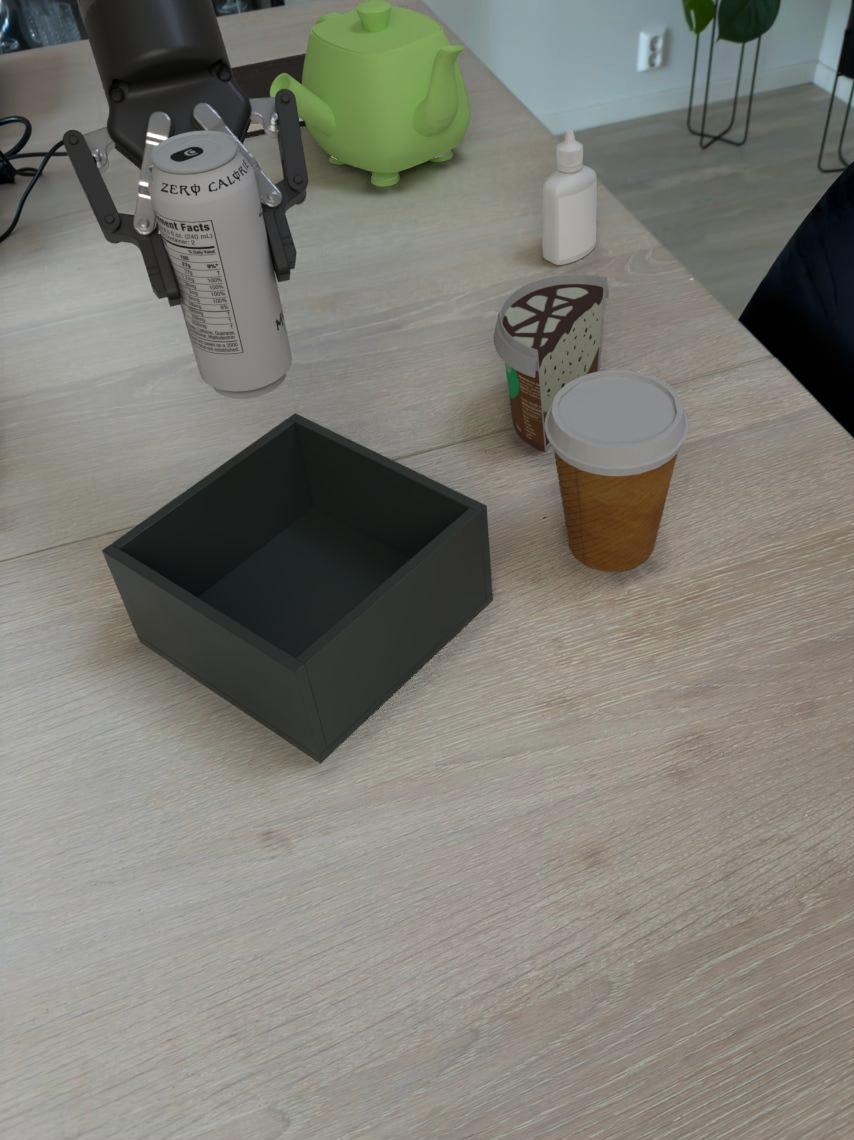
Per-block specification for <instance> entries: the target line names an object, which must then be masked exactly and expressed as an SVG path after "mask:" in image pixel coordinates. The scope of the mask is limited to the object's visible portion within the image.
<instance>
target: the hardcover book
mask: <svg viewBox="0 0 854 1140" xmlns="http://www.w3.org/2000/svg"><path fill="white" fill-rule="evenodd" d="M305 56H306V52H305V53H300V54H296V55H290V56H284V57H280V58H274V59H270V60H265V61H260V62H254V63H248V64H244V65H239V66H233V67H231V69H232V72H233V76H234V78H235V81H236V83H237V84H238V86H239V87H240V88H241V90H242V91H243V92H244V93H245V94H246V95H247V96H248V98H249V99H251V98H268V97H270V88H271V85H272V83H273V81H274V80H275V79H276V77H277V76H279V75H280V74H282V73H287V74H288V75H290V76H291V77H292V78H294V79H295V80H296V81H298V82H299V83H300V84H301V85H302V75H303V68H304V61H305ZM251 124H259V122H257V121H254V120H251V123H250V125H251ZM299 124H300V127H304V126H306V124H305V121H304V120H303V121H299ZM260 135H266V133H265V131H264V129H259V130H254V131H250V132H247V134H246V137H245V139H246V138H251V137H255V136H260Z"/></svg>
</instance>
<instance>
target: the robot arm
mask: <svg viewBox="0 0 854 1140" xmlns="http://www.w3.org/2000/svg"><path fill="white" fill-rule="evenodd" d="M76 3H77V5H78V14H79V17H80V20H81V22H82V24H83V26H84V29H85V32H86V35H87V39H88V42H89V45H90V49H91V52H92V55H93V58H94V62H95V65H96V69H97V72H98V75H99V78H100V82H101V85H102V89H103V92H104V95H105V98H106V99H105V100H106V101H107V105H108V116H107V120H106V126H104V127H102V128H99V129H95V130H93V131H90V132H87V133H84V134H83V133H82V132H80V131H79V130H76V129H69V130H66V132H64V134H63V136H62V143H63V146H64V149H65V151H66V154H67V157H68V160H69V162H70V164H71V166H72V168H73V171H74V173H75V175H76V177H77V179H78V182H79V183H80V186H81V188H82V190H83V193H84V194H85V198H86V199H87V201H88V204H89V205H90V208H91V210H92V212H93V214H94V217H95V219H96V221H97V223H98V226H99V228H100V230H101V233H102V234H103V236H104V238H105V240H106V241H107V242H109V243H110V244H114V245H115V244H120V243H129V244H132V245H134V246H135V247H137V248H138V250H139V251H140V253H141V256H142V259H143V263H144V266H145V270H146V273H147V276H148V279H149V283H150V286H151V289H152V292H153V294H155V296H156V297H157V299H158V300H162V299H166V298H167V301H168V305H169V307H170V308H171V307H176V306H181V299H180V295H179V291H178V288H177V285H176V281H175V278H174V275H173V271H172V268H171V265H170V261H169V258H168V255H167V251H166V248H165V245H164V242H163V239H162V236H161V233H160V230H159V226H158V223H157V219H156V216H155V212H154V208H153V205H152V201H151V198H150V194H149V190H148V183H149V179H150V175H151V172H152V168H153V163H152V160H151V153H152V150H153V149H154V148H155V147H156V146H157V145H158V144H159V143H161V142H162V141H164V140H166V139H168V138H170V137H173V136H176V135H179V134H183V133H187V132H193V131H218V132H223V133H226V134H228V135H231V136H232V137H233V138H235V140H236V141H237V144H238V150H239V152H240V153H241V154H242V155H243V156H244V157H245V159H246V160H247V161H248V162H249V163H250V165H251V166H252V168H253V169H254V174H255V179H256V184H257V188H258V193H259V198H260V203H261V208H262V213H263V218H264V223H265V228H266V233H267V237H268V242H269V247H270V252H271V257H272V262H273V267H274V271H275V276H276V281H277V283H282V282H283V283H284V282H287V281H290V280H291V270H295V268H296V261H297V249H296V246H295V243H294V238H293V236H292V233H291V229H290V225H289V222H288V218H287V215H286V214H287V212H288V210H290V208H292V207H293V206H298V205H301V204H303V203H304V202H305V201H306V198H307V188H308V185H309V177H308V176H309V175H308V170H307V169H308V168H307V162H306V156H305V151H304V143H303V138H302V137H303V136H302V131H301V126H300V124H299V117H298V111H297V104H296V98H295V95H294V93H293V92H292V91H290V90H288V89H281V90H279V91H278V92H277V93H276V96H275V97H268V98H251V99H249V98H248V96H247V95H246V94H245V93H244V92H243V91H242V90H241V88H240V87H239V86H238V84H237V83H236V81H235V78H234V76H233V72H232V69H231V68H232V66H231V62H230V59H229V55H228V52H227V49H226V45H225V41H224V39H223V36H222V32H221V29H220V25H219V22H218V18H217V14H216V11H215V7H214V4H213V1H212V0H76ZM251 120H254V121H257V122H259V123H260V124H261V125H262V126H263V128H264V131H265V135H266V136H268V138H271V139H277V145H278V151H279V158H280V163H281V169H282V175H283V179H281V180H280V181H278V182H277V183H274V182H273V181H272V180H271V179H270V177H269V176H268V175H267V174H266V173H265V171H264V170H262V168H261V167H260V165H259V162H258V161H257V159H256V158H255V157H254V156H253V154H252V153H251V152H250V151H249V150H248V148H247V147H246V146H245V145H244V142H245V139H246V138H247V137H246V134H247V131H248V129H249V126H250V123H251ZM245 137H246V138H245ZM113 149H115V150H116V151H117V152H119V154H121V155H122V156H123V157H124V158H125V159H126V160H128V161H129V162H130V163H132V164H133V165H134V166H135V167H136V168H138V169H139V170H140V173H139V178H138V185H137V186H138V188H137V189H138V191H137V198H136V203H135V210H134V214H129V213H123V212H122V213H121V212H119V211H118V209H117V207H116V204H115V203H114V200H113V198H112V196H111V193H110V191H109V189H108V187H107V185H106V182H105V180H104V178H103V176H102V175H103V174H105V173H107V172H108V171H109V169H110V162H109V157H108V156H109V153H110V152H111V151H112V150H113Z"/></svg>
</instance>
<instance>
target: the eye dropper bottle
mask: <svg viewBox="0 0 854 1140" xmlns="http://www.w3.org/2000/svg"><path fill="white" fill-rule="evenodd" d="M555 147H556V156H555V157H556V159H555V161H556V169H555V170H554V171H553V172H552V173H550V175H549V176H548V177H547V178H546V180H545V182H544V183H543V185H542V191H541V223H542V224H541V225H542V226H541V227H542V228H541V231H542V233H541V234H542V257H543V259H544V260H545V261H547V262H549V263H551V264H553V265H555V266H563V265H568V264H572V263H574V262H578V261H579V260H581V259H584V258H585V257H586V256H588V255H589V254H590V253H591V252H592V251H593V250H594V249H595V247H596V244H597V205H598V204H597V203H598V202H597V201H598V199H597V198H598V197H597V196H598V182H597V181H598V179H597V173H596V171H595V170H594V169H593V168H591V167H589V166H587V165H585V164H584V145H583V143H582V142H580V141H578V140H576V135H575V131H574V129H573V128H567V129H566V130H565V133H564V137H563V141H560V142H559V143H557V145H556V146H555Z"/></svg>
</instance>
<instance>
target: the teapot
mask: <svg viewBox="0 0 854 1140" xmlns="http://www.w3.org/2000/svg"><path fill="white" fill-rule="evenodd" d="M444 29H445V28H444V27H443V26H442V25H441V24H440V23H439V22H438V21H436V20H434V19H433V18H431V17H429V16H427V15H425V14H423V13H421V12H418V11H416V10H412V9H408V8H405V7H401V6H397V5H392V3H391V2H390V1H387V0H364V1H362V2H360V3H359V4H357V5H356V7H355V9H353V10H349V11H347V12H344V13H340V12H336V11H330V12H326V13H325V14H323V15H321V16H320V17H319V18H318V19H317V21H316V23H315V25H313V26H312V28H311V29H310V32H309V35H308V40H307V45H306V51H305V53H306V56H305V61H304V68H303V75H302V85H301V84H300V83H299V82H298V81H296V80H295V79H294V78H292V77H291V76H290V75H288V74H287V73H282V74H280V75H279V76H277V77H276V79H275V80H274V81H273V83H272V85H271V88H270V97H275V96H276V93H277V92H278V91H279V90H281V89H288V90H290V91H292V92H293V93H294V95H295V98H296V104H297V111H298V117H299V118H301V119H302V120H304V121H305V124H306V125H305V126H306V128H307V131H308V133H310V135H311V136H312V138H313V139H314V141H315V142H316V144H318V145H319V147H320V148H321V149H322V150H324V152H326V153H327V154H328V155H330V156H329V158H328V161H329V162H330V163H331V164H334V165H340V166H341V165H348V166H351V167H354V168H358V169H361V170H364V171H368V172H371V174H372V176H373V177H374V178H375V179H379V180H388V179H392V178H394V177H396V176H397V175H398V173H399V175H398V176H397V177H396V178H394V179H392V180H388V181H378V180H375V179H373V178H372V176H371V175H370V182H371V185H374V186H376V187H382V188H383V187H390V186H394V185H396V184H397V183H399V182H400V180H401V176H400V172H402V171H405V170H407V169H411V168H413V167H416V166H418V165H421V164H423V163H426V162H428V161H429V162H433V163H442V162H446V161H450V160H451V159H453V157H454V152H453V151H452V149H454V148H456V147H458V146H459V145H460V144H461V143H462V141H463V139H464V137H465V135H466V133H467V130H468V128H469V125H470V120H471V107H470V106H471V105H470V101H469V94H468V90H467V85H466V81H465V78H464V75H463V71H462V69H461V66H460V63H459V60H458V56H459V55H460V54H461V53H462V52H463V51H464V50H465V49H466V47H465V46H464V45H455V44H454V45H452V44H451V42H450V39H449V36H448V35H447V33H446V31H445V30H444ZM449 150H450V153H449V154H447V155H446V156H443V157H437V156H439V155H441V154H444V153H446V152H447V151H449ZM331 156H333V157H334V158H336V159H337V160H336V159H334V158H332V157H331ZM435 157H437V158H435Z"/></svg>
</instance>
